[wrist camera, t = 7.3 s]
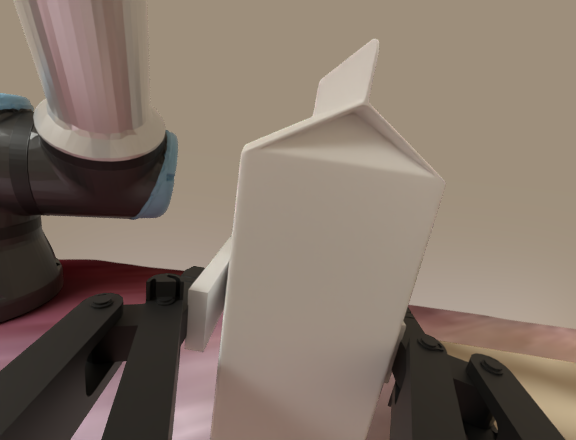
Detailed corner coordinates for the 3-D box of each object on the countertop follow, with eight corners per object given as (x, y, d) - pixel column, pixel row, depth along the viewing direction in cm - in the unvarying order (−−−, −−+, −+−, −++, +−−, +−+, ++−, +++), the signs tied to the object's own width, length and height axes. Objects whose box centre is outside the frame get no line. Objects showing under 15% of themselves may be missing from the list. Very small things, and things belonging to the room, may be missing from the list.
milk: (193, 593, 12) (249, -1, 6) (211, 444, 18) (248, 66, 12) (327, 576, 13) (490, 58, 7) (302, 440, 19) (380, 92, 13)
